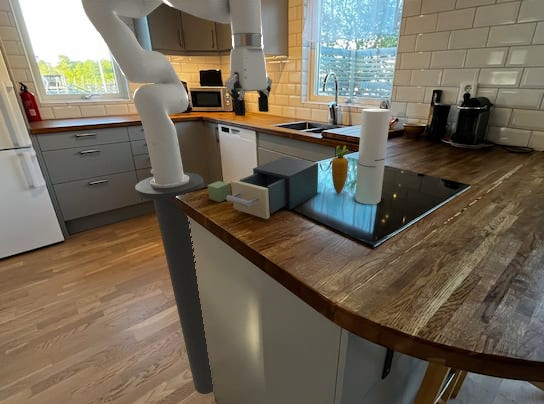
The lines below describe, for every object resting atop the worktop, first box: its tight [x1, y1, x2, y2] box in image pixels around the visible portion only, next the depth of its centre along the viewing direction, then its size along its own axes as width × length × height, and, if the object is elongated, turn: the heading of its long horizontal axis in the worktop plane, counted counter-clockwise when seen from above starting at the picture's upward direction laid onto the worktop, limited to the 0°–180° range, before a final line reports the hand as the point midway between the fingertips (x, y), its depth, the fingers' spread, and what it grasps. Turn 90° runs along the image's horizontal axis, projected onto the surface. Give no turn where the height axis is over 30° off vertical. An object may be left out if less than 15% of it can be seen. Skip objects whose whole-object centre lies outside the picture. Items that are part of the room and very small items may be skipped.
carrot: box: [331, 145, 350, 195], centre depth 87 cm, size 5×5×15 cm
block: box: [207, 180, 231, 203], centre depth 87 cm, size 4×4×4 cm
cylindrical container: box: [354, 107, 392, 205], centre depth 81 cm, size 7×7×25 cm
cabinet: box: [252, 156, 319, 211], centre depth 87 cm, size 15×13×10 cm
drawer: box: [226, 172, 288, 220], centre depth 78 cm, size 18×11×8 cm, turn 146°
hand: (252, 113), depth 82 cm, fingers open, 9 cm apart
